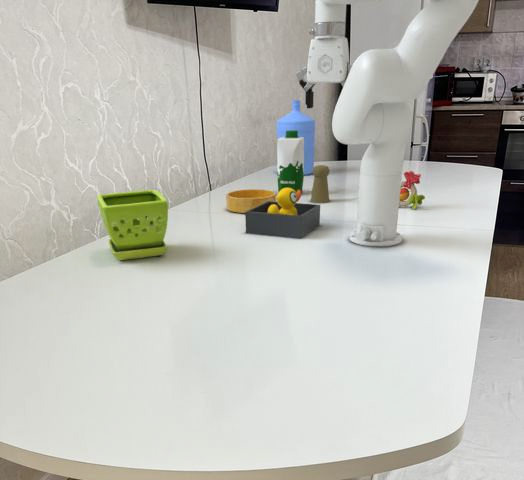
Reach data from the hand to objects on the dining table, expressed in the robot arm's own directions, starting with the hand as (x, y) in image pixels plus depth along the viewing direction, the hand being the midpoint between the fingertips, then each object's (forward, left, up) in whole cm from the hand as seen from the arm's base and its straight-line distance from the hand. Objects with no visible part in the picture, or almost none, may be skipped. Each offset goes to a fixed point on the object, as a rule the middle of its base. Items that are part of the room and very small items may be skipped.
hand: (327, 108), depth 138 cm
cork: (+20, +8, -28) cm, 36 cm away
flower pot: (-50, +28, -28) cm, 64 cm away
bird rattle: (+19, -20, -28) cm, 40 cm away
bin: (-18, +5, -28) cm, 34 cm away
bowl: (+2, +24, -28) cm, 37 cm away
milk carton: (+29, +22, -28) cm, 46 cm away
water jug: (+72, +37, -28) cm, 86 cm away
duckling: (-18, +5, -28) cm, 34 cm away
